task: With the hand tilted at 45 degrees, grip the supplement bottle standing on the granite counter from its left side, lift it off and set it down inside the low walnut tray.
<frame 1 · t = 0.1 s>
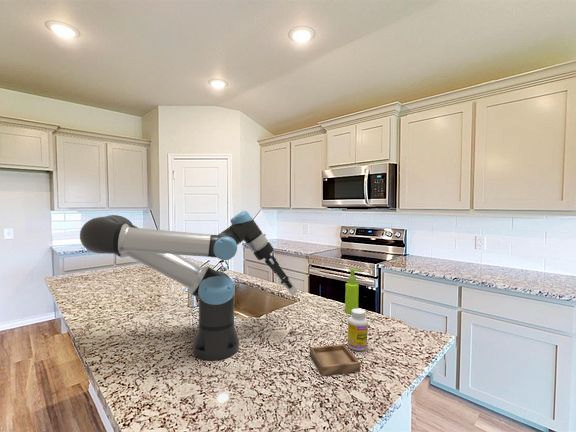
hand: (290, 288, 119), 15 cm above the counter, tool tilted 35°, fingers open, 13 cm apart
walnut tray: (333, 362, 93), on the counter
supplement bottle: (357, 347, 103), on the counter
soap dispenser: (352, 312, 137), on the counter
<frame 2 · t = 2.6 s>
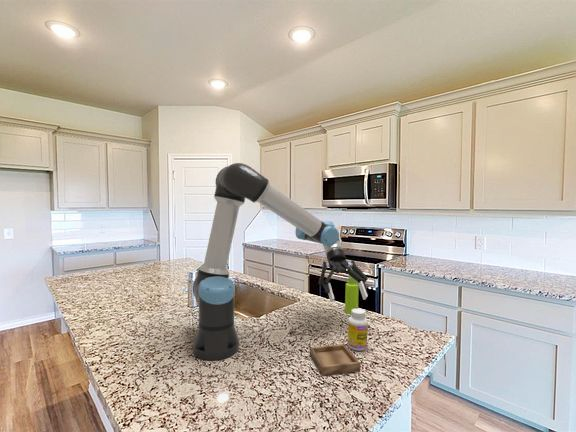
hand: (349, 299, 112), 14 cm above the counter, tool tilted 45°, fingers open, 13 cm apart
nothing on the counter moved.
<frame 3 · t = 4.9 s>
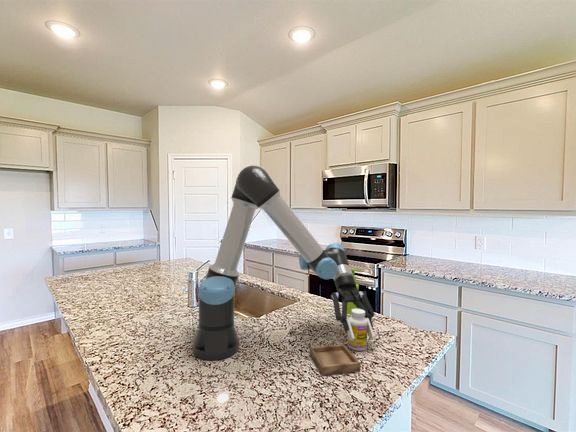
hand: (362, 338, 100), 4 cm above the counter, tool tilted 45°, fingers closed on supplement bottle, 7 cm apart
supplement bottle: (357, 347, 103), on the counter, touching gripper
everything else where it was.
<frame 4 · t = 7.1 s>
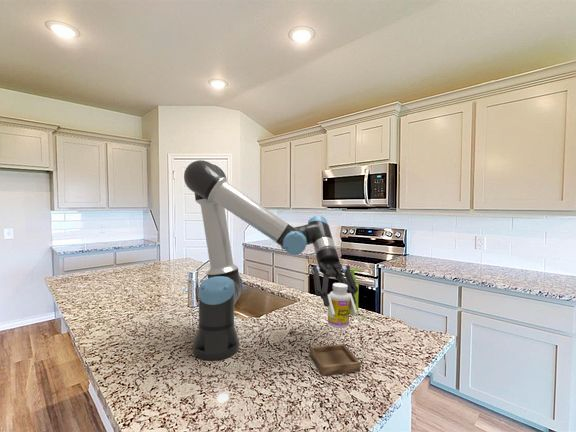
hand: (343, 315, 90), 16 cm above the counter, tool tilted 45°, fingers closed on supplement bottle, 7 cm apart
supplement bottle: (338, 325, 94), point 11 cm above the counter, touching gripper
everything else where it was.
when the fingers open (7 cm above the counter, at t = 9.4 s): supplement bottle drops 1 cm, resting on walnut tray.
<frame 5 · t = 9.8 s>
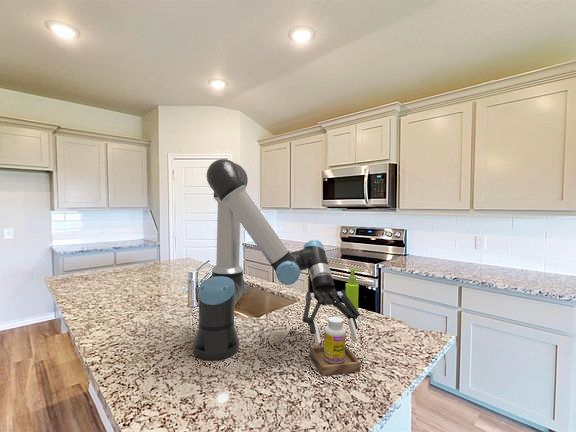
hand: (337, 342, 90), 8 cm above the counter, tool tilted 45°, fingers open, 11 cm apart
supplement bottle: (334, 359, 93), point 1 cm above the counter, touching walnut tray
everything else where it was.
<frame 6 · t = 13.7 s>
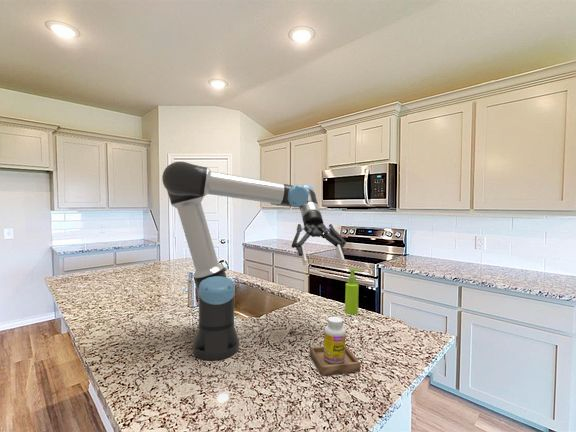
hand: (324, 262, 102), 30 cm above the counter, tool tilted 45°, fingers open, 13 cm apart
nothing on the counter moved.
at the end: supplement bottle inside the target area on the walnut tray (0.2 cm from its centre), point 0.8 cm above the walnut tray's base; supplement bottle tilted 0°; the gripper is holding nothing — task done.
